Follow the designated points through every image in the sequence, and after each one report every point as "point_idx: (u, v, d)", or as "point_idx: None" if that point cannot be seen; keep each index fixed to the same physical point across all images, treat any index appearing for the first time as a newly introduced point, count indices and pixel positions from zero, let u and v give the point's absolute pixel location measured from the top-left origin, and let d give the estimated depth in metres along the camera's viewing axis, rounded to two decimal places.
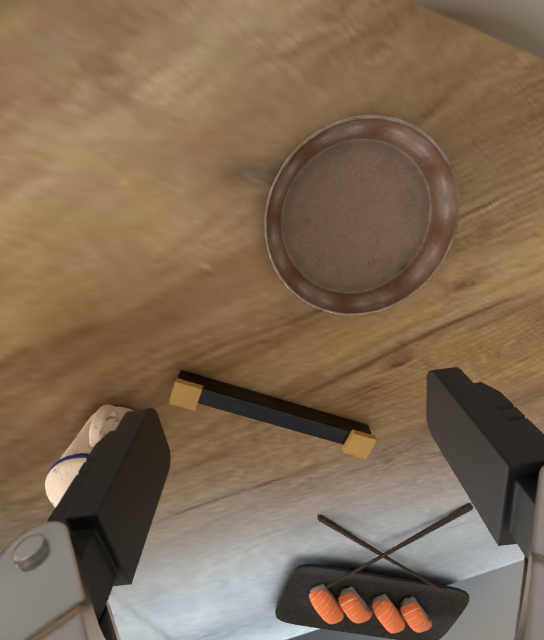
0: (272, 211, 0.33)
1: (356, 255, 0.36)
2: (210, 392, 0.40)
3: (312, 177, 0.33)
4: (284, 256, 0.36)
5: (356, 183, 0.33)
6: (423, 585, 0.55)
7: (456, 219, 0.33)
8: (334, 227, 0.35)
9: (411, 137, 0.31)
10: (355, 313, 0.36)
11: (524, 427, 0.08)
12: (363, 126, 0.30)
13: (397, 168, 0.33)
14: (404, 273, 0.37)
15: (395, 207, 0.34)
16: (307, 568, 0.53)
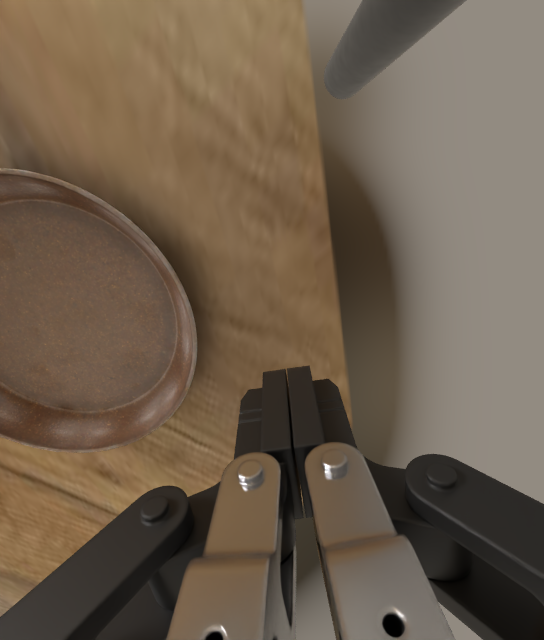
0: None
1: (29, 346, 0.23)
2: None
3: (63, 226, 0.20)
4: None
5: (104, 290, 0.22)
6: None
7: (141, 435, 0.24)
8: (34, 296, 0.22)
9: (188, 326, 0.21)
10: None
11: (338, 417, 0.09)
12: (158, 258, 0.20)
13: (156, 329, 0.23)
14: (60, 413, 0.26)
15: (117, 355, 0.24)
16: None
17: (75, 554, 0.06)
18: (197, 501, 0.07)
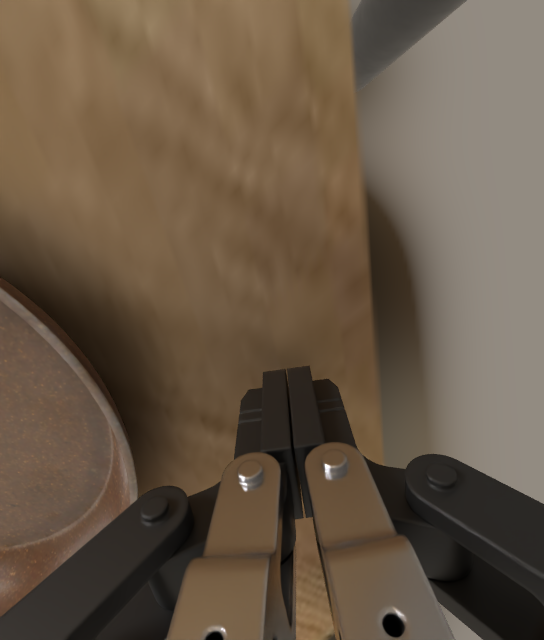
0: None
1: None
2: None
3: None
4: None
5: None
6: None
7: None
8: None
9: None
10: None
11: (338, 417, 0.09)
12: None
13: (78, 438, 0.14)
14: None
15: (17, 474, 0.15)
16: None
17: (75, 554, 0.06)
18: (196, 501, 0.07)
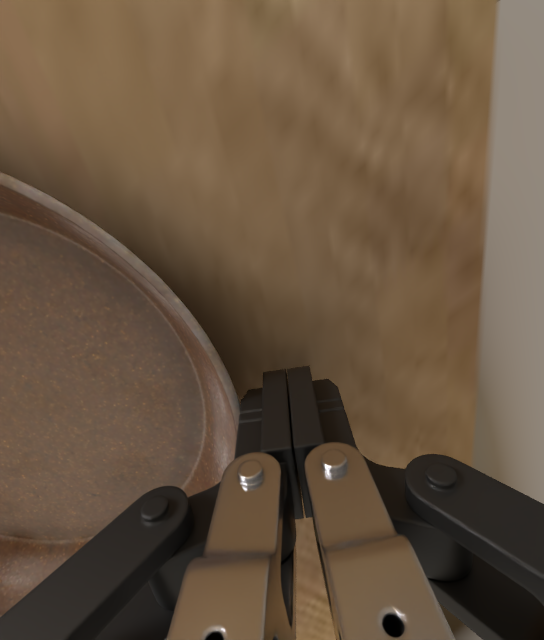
0: None
1: None
2: None
3: (1, 253, 0.11)
4: None
5: (79, 363, 0.12)
6: None
7: None
8: None
9: (228, 430, 0.12)
10: None
11: (338, 417, 0.09)
12: (179, 316, 0.10)
13: (170, 423, 0.13)
14: (12, 545, 0.16)
15: (102, 462, 0.14)
16: None
17: (75, 554, 0.06)
18: (197, 501, 0.07)
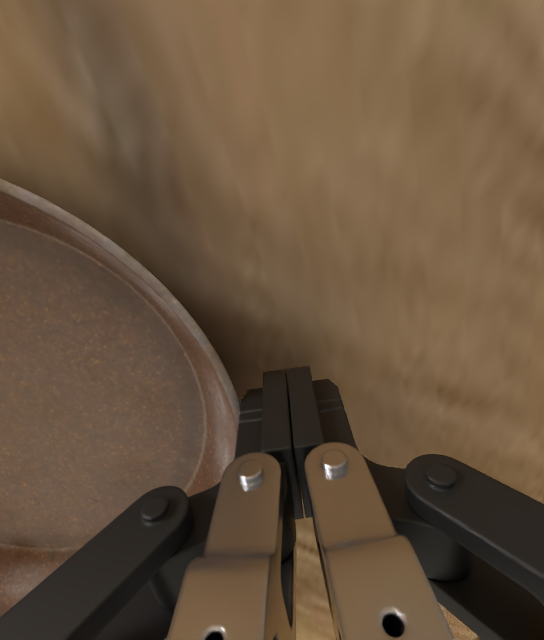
0: None
1: None
2: None
3: None
4: None
5: (78, 368, 0.12)
6: None
7: None
8: None
9: (229, 431, 0.12)
10: None
11: (337, 417, 0.09)
12: (177, 317, 0.10)
13: (170, 426, 0.13)
14: (13, 553, 0.16)
15: (103, 467, 0.14)
16: None
17: (75, 554, 0.06)
18: (197, 501, 0.07)
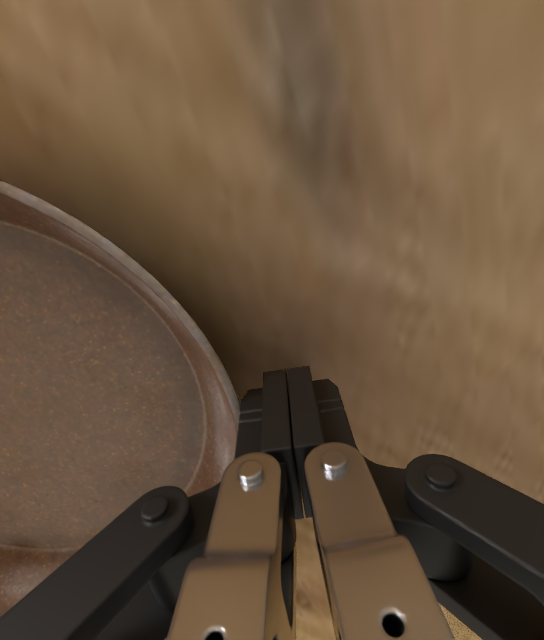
0: None
1: None
2: None
3: None
4: None
5: (77, 369, 0.12)
6: None
7: None
8: None
9: (229, 431, 0.12)
10: None
11: (337, 417, 0.09)
12: (176, 318, 0.10)
13: (170, 426, 0.13)
14: (14, 554, 0.16)
15: (104, 467, 0.14)
16: None
17: (75, 554, 0.06)
18: (197, 501, 0.07)
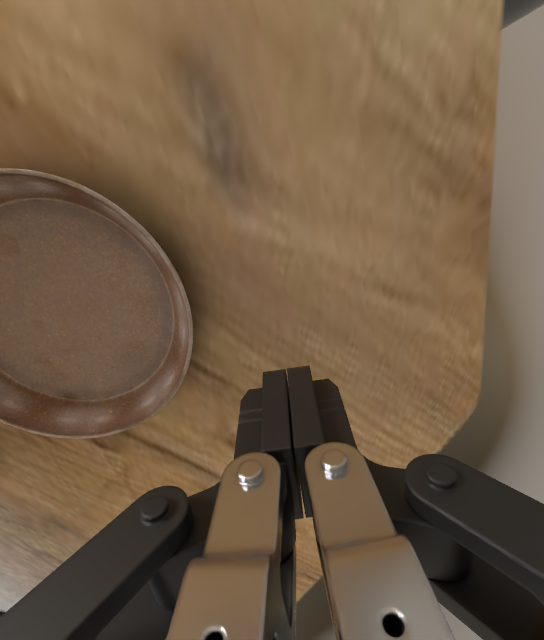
0: None
1: (33, 338, 0.25)
2: None
3: (66, 222, 0.22)
4: None
5: (104, 283, 0.23)
6: None
7: (142, 419, 0.25)
8: (38, 289, 0.23)
9: (184, 314, 0.23)
10: None
11: (338, 417, 0.09)
12: (155, 250, 0.21)
13: (154, 318, 0.24)
14: (63, 402, 0.27)
15: (117, 344, 0.25)
16: None
17: (75, 554, 0.06)
18: (196, 501, 0.07)
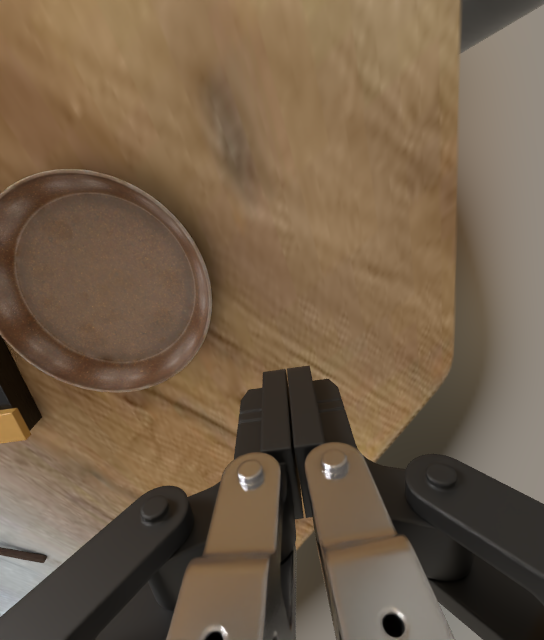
0: (35, 188, 0.25)
1: (80, 308, 0.30)
2: None
3: (110, 212, 0.27)
4: (11, 232, 0.27)
5: (139, 262, 0.29)
6: None
7: (168, 376, 0.30)
8: (85, 267, 0.29)
9: (204, 287, 0.28)
10: (15, 348, 0.29)
11: (338, 417, 0.09)
12: (182, 234, 0.26)
13: (179, 292, 0.30)
14: (102, 364, 0.32)
15: (148, 314, 0.30)
16: None
17: (75, 554, 0.06)
18: (196, 501, 0.07)
